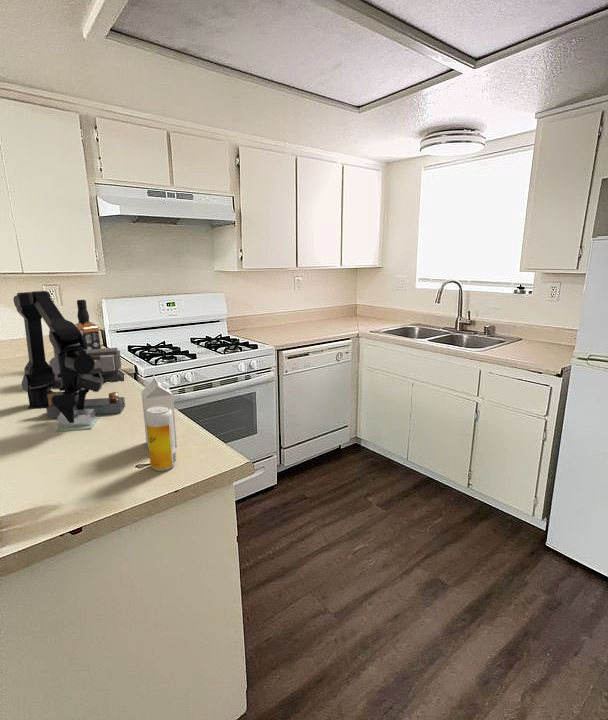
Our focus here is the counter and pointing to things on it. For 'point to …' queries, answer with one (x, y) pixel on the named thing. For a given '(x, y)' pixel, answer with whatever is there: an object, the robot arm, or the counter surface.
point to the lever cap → (78, 418)
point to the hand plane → (93, 405)
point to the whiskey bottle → (87, 326)
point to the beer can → (161, 437)
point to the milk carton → (157, 400)
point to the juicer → (97, 364)
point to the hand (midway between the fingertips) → (76, 417)
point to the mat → (76, 427)
